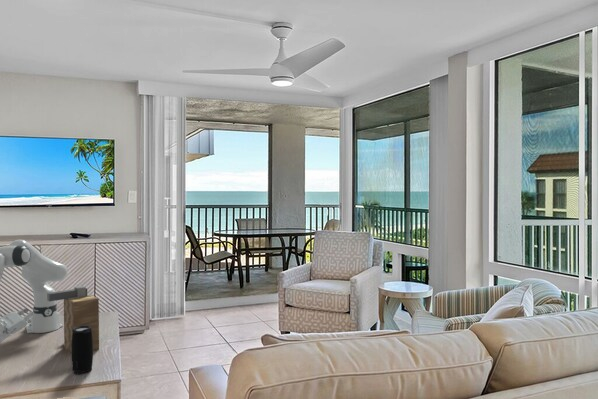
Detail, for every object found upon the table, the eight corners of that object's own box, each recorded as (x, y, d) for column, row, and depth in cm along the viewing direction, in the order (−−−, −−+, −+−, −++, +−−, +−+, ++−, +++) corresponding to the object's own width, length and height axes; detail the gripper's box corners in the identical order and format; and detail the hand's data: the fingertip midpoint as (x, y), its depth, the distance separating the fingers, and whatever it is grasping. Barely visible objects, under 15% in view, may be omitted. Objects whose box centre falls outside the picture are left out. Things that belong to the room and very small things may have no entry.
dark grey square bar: (46, 300, 231) (46, 290, 230) (84, 294, 243) (84, 285, 243) (49, 301, 227) (49, 292, 227) (87, 295, 240) (87, 286, 240)
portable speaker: (83, 366, 213) (83, 323, 213) (97, 369, 209) (97, 326, 208) (66, 372, 205) (66, 328, 205) (80, 376, 201) (80, 331, 201)
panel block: (64, 347, 238) (63, 297, 237) (88, 342, 246) (87, 293, 245) (74, 355, 227) (73, 302, 226) (99, 349, 235) (98, 298, 234)
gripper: (2, 330, 207) (32, 309, 215) (-8, 320, 221) (21, 302, 229) (10, 340, 209) (39, 320, 217) (0, 330, 224) (28, 311, 232)
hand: (30, 310), depth 223 cm, fingers open, 8 cm apart
